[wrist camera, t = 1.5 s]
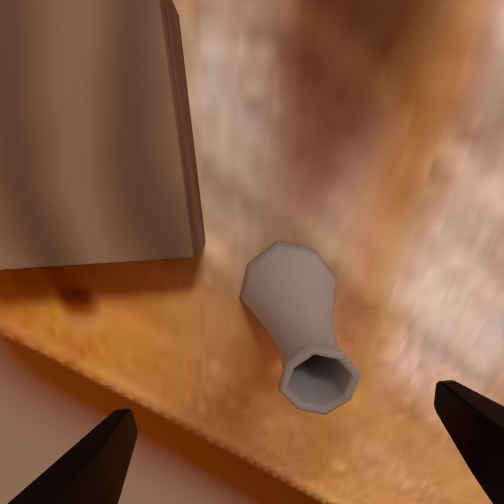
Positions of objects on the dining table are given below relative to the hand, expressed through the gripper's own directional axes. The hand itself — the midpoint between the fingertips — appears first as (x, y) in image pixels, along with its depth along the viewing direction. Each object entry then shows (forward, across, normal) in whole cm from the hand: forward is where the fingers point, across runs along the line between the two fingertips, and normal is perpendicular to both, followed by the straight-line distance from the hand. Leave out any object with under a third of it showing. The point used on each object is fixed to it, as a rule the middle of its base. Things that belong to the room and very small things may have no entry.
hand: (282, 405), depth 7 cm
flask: (+13, -2, +2) cm, 13 cm away
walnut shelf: (+12, +12, -10) cm, 20 cm away
